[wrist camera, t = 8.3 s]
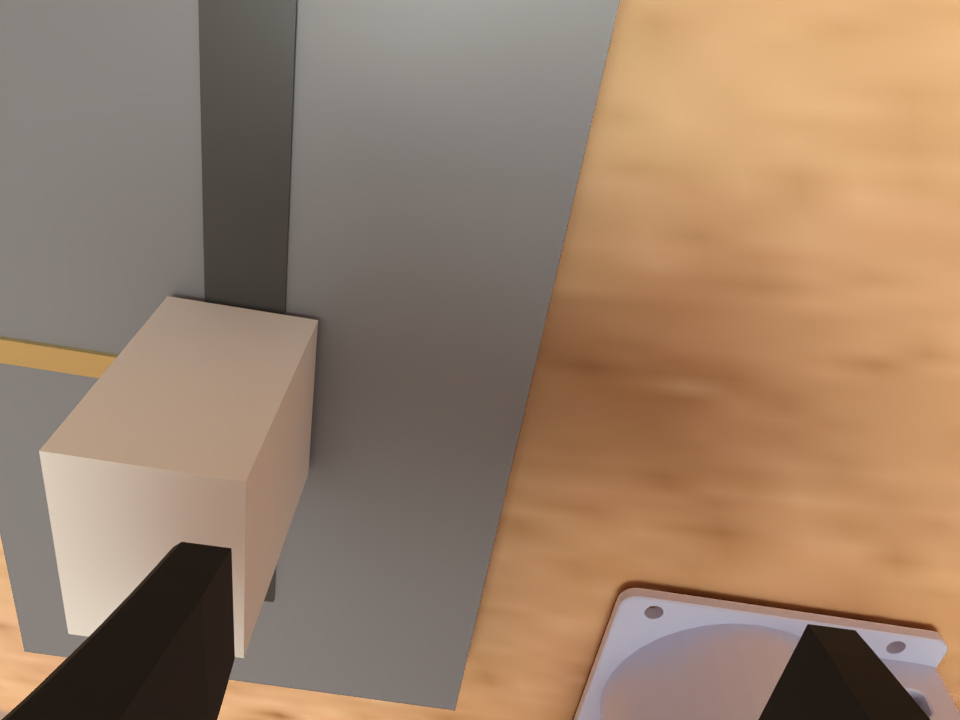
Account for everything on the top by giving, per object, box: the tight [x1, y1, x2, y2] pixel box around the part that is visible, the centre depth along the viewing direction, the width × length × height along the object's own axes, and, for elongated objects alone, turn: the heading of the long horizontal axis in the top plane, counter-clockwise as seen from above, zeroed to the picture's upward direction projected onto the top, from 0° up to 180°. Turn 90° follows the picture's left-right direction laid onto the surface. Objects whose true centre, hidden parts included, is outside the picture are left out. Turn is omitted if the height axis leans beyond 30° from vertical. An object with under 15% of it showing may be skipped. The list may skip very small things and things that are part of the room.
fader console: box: [0, 0, 620, 710], centre depth 16 cm, size 12×26×2 cm, turn 171°
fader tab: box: [39, 296, 318, 658], centre depth 15 cm, size 3×4×5 cm
